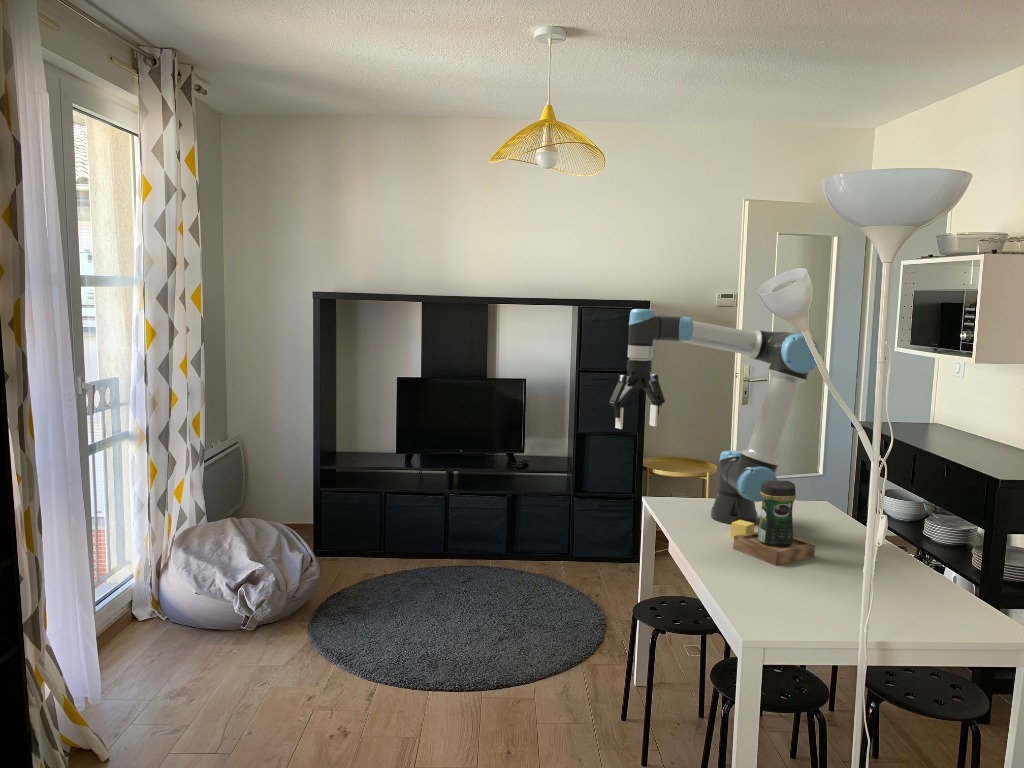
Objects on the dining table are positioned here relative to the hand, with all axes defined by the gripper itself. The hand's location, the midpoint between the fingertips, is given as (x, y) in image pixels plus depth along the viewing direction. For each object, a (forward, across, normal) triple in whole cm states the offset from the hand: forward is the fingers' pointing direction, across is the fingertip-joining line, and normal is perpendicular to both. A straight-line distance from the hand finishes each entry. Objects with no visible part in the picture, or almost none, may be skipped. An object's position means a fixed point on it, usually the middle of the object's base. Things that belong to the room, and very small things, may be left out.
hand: (636, 427), depth 246 cm
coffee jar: (+30, -24, +36) cm, 53 cm away
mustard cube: (+33, -26, +22) cm, 47 cm away
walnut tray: (+33, -24, +36) cm, 54 cm away
